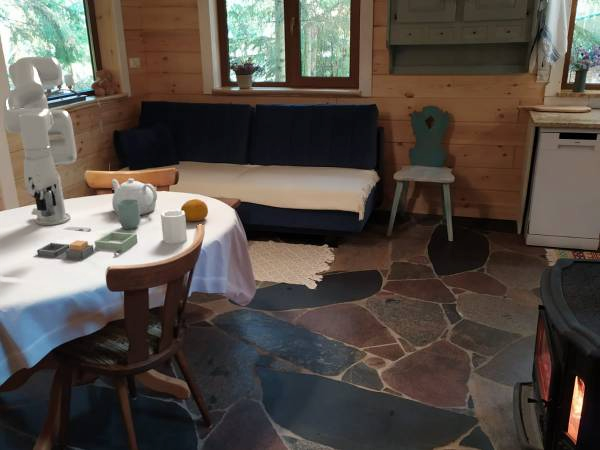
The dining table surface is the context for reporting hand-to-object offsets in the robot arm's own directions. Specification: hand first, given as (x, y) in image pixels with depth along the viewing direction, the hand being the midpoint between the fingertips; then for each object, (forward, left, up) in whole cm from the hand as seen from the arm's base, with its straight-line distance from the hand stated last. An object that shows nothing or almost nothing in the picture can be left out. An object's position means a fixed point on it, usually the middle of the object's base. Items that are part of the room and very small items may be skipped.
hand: (46, 207), depth 181 cm
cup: (+10, +30, -17) cm, 36 cm away
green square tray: (+16, +11, -16) cm, 26 cm away
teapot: (+1, +49, -17) cm, 52 cm away
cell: (0, 0, -2) cm, 2 cm away
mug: (+32, +24, -17) cm, 44 cm away
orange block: (+10, -1, -14) cm, 17 cm away
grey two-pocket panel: (+5, -1, -16) cm, 17 cm away
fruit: (+30, +44, -17) cm, 56 cm away
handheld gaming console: (-7, +16, -17) cm, 25 cm away
